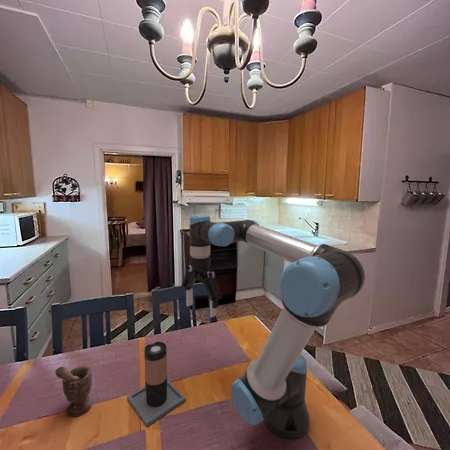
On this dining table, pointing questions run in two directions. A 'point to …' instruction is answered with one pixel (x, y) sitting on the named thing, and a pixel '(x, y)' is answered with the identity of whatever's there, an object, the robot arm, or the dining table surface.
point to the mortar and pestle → (76, 388)
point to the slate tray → (155, 413)
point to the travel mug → (156, 374)
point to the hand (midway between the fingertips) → (201, 310)
